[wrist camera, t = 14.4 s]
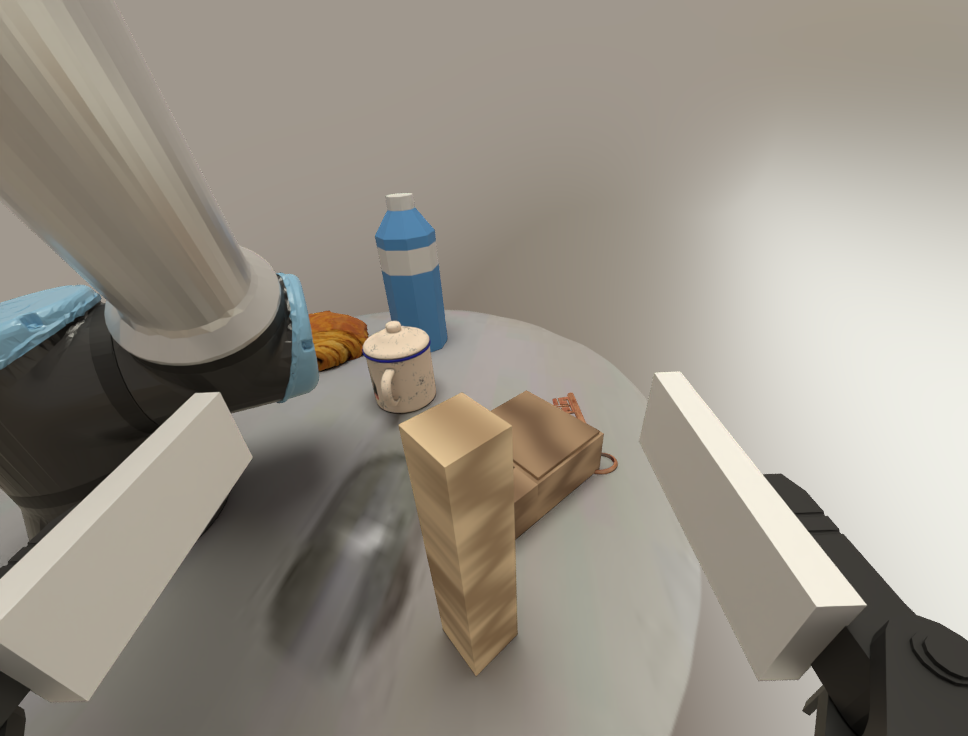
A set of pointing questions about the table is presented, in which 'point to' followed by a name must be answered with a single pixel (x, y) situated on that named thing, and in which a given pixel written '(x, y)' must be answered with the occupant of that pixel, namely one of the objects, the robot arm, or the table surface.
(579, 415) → the key
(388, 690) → the table surface
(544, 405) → the wooden sliding lid box
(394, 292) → the water bottle
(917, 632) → the robot arm
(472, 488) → the wooden key peg
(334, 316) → the croissant
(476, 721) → the table surface
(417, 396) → the teacup with lid
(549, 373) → the table surface
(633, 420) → the table surface
